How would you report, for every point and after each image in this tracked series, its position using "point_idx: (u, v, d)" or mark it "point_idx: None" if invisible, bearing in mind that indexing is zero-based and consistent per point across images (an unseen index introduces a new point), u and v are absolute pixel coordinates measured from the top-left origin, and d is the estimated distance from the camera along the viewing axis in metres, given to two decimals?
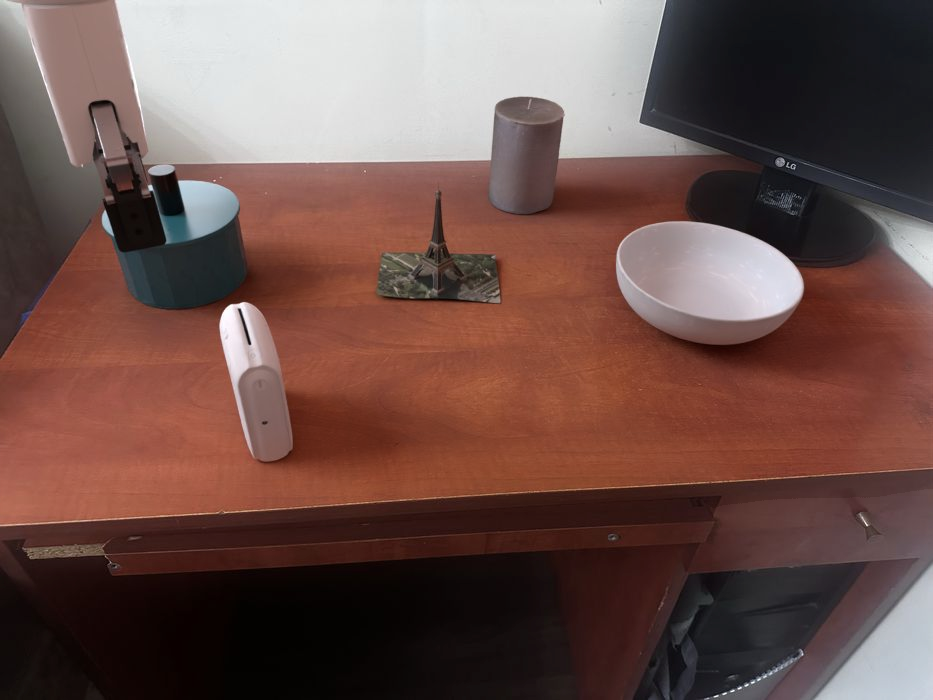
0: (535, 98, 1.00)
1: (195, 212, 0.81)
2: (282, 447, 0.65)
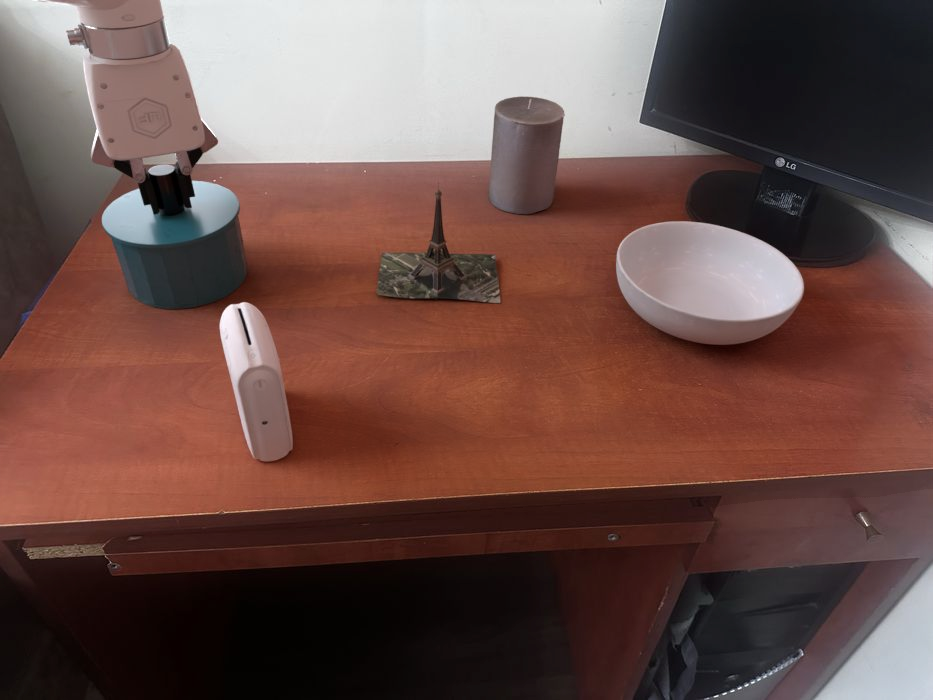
0: (535, 98, 1.00)
1: (195, 212, 0.81)
2: (282, 447, 0.65)
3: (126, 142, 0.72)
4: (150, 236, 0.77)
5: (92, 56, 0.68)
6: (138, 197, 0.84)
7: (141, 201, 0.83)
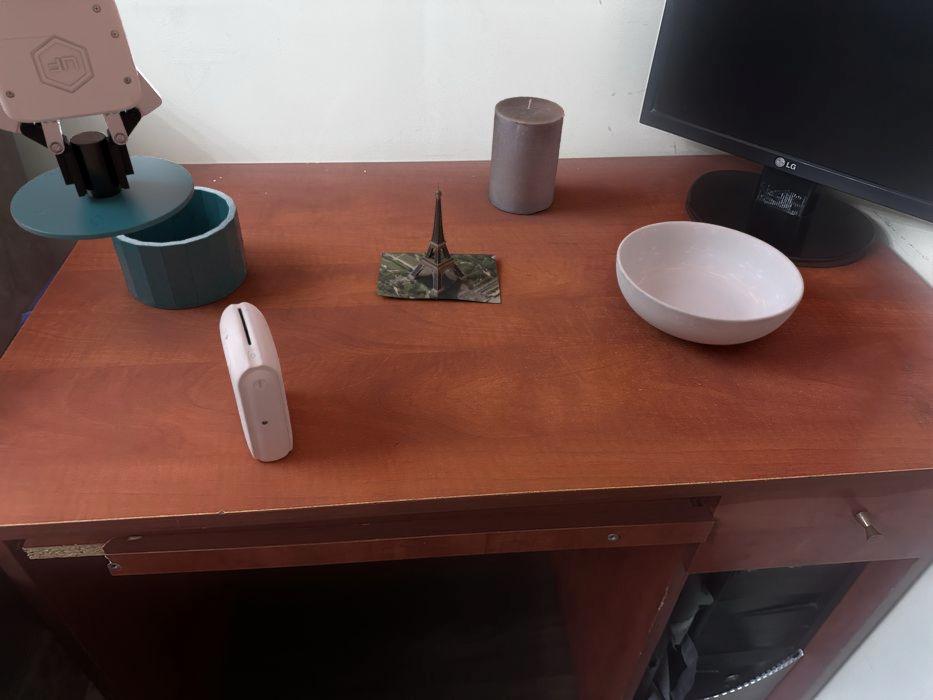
0: (535, 98, 1.00)
1: (135, 194, 0.63)
2: (282, 447, 0.65)
3: (32, 97, 0.54)
4: (70, 224, 0.59)
5: None
6: None
7: None
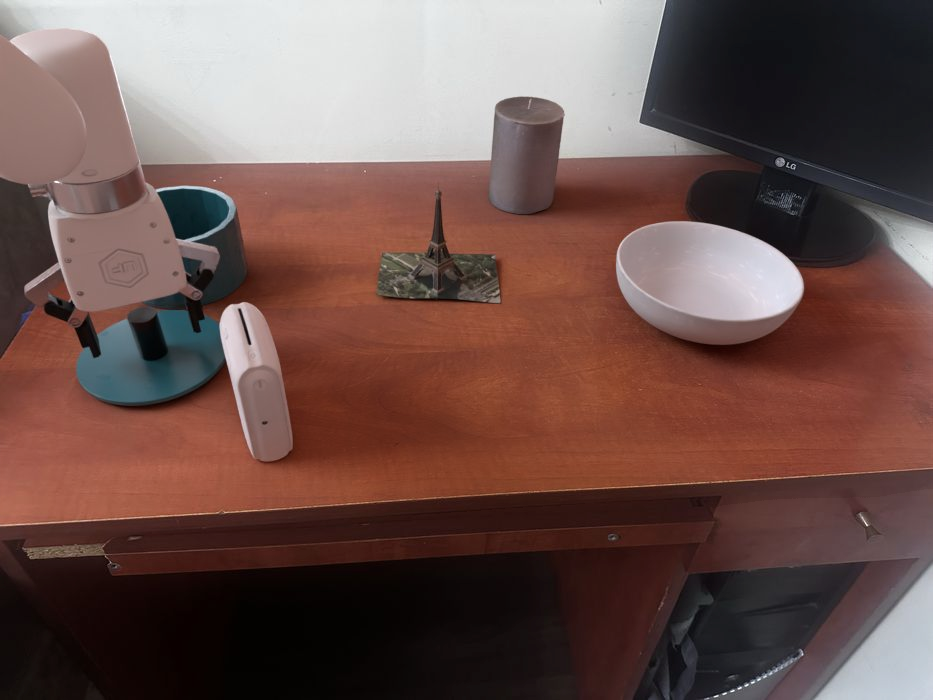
0: (535, 98, 1.00)
1: (179, 355, 0.74)
2: (282, 447, 0.65)
3: (97, 294, 0.65)
4: (128, 390, 0.70)
5: (58, 208, 0.60)
6: (117, 334, 0.76)
7: (120, 340, 0.76)
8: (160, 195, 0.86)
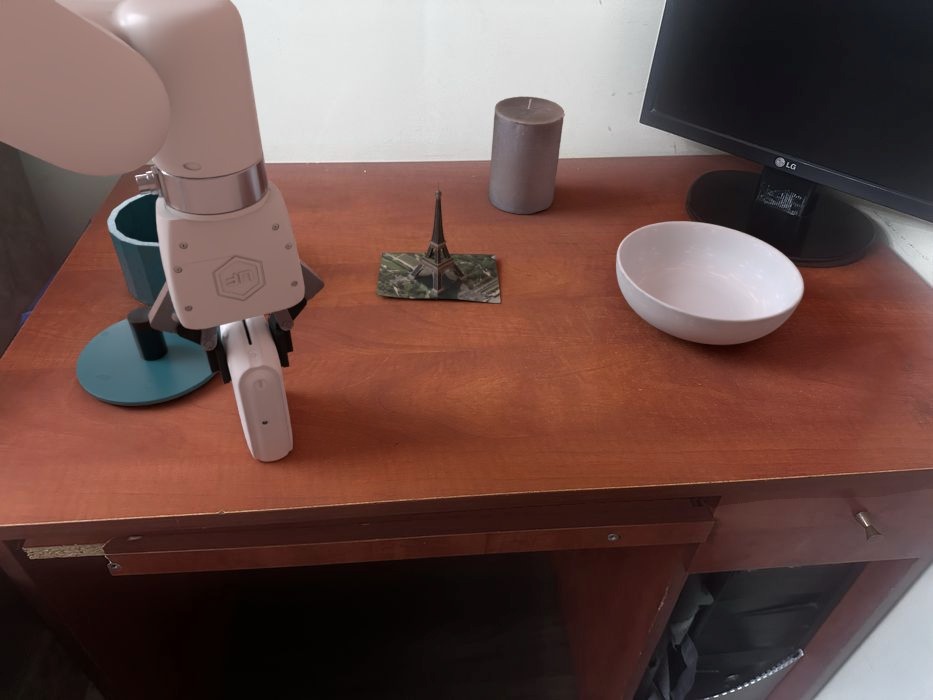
0: (535, 98, 1.00)
1: (179, 355, 0.74)
2: (282, 447, 0.65)
3: (208, 309, 0.55)
4: (128, 390, 0.70)
5: (169, 207, 0.51)
6: (117, 334, 0.76)
7: (120, 340, 0.76)
8: None
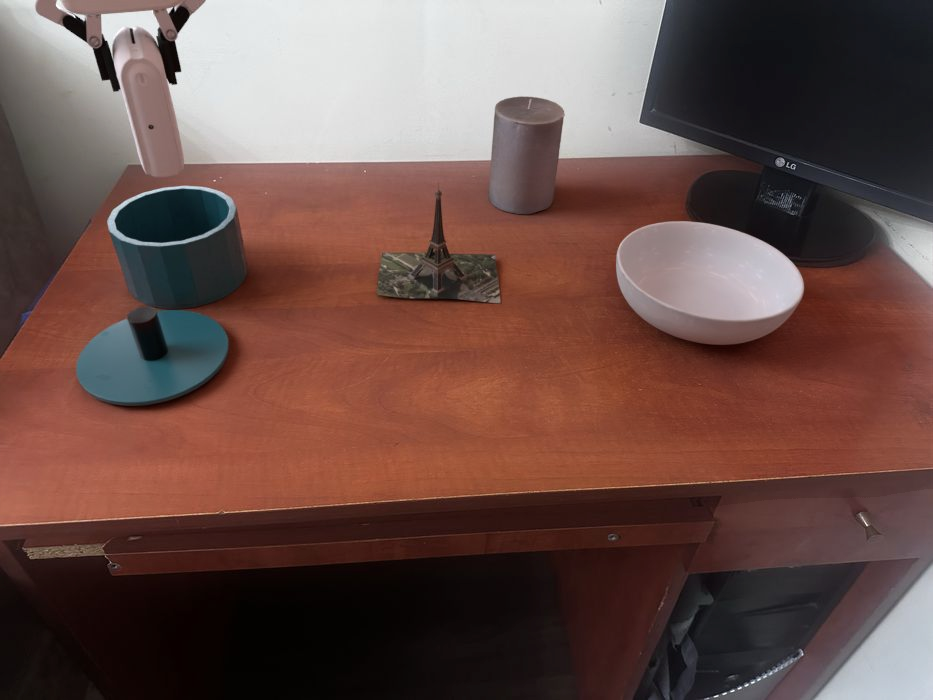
0: (535, 98, 1.00)
1: (179, 355, 0.74)
2: (172, 163, 0.69)
3: None
4: (128, 390, 0.70)
5: None
6: (117, 334, 0.76)
7: (120, 340, 0.76)
8: (160, 195, 0.86)
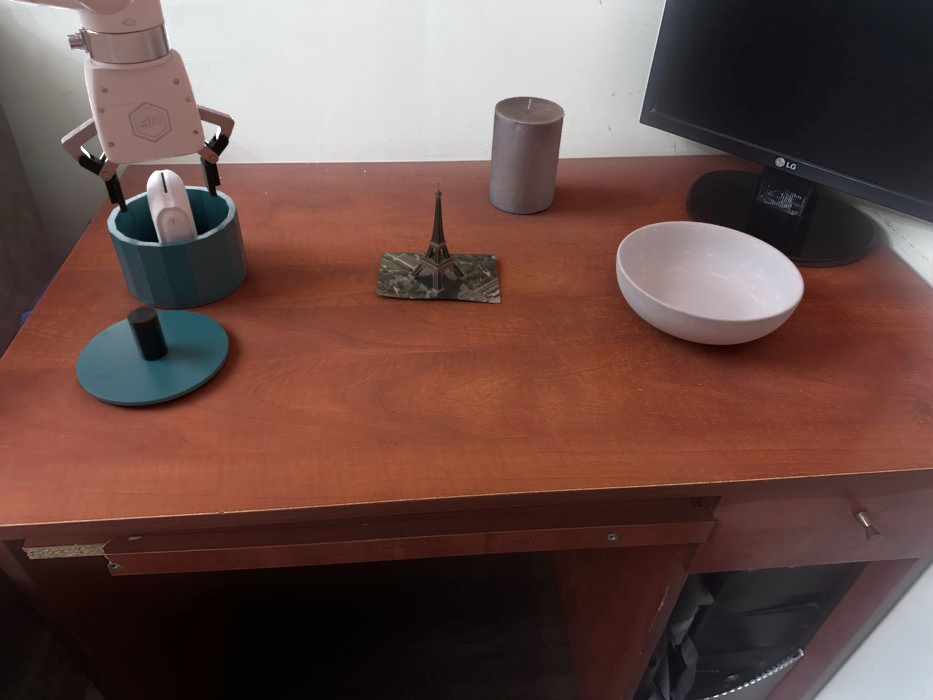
0: (535, 98, 1.00)
1: (179, 355, 0.74)
2: None
3: (126, 146, 0.73)
4: (128, 390, 0.70)
5: (93, 60, 0.68)
6: (117, 334, 0.76)
7: (120, 340, 0.76)
8: None
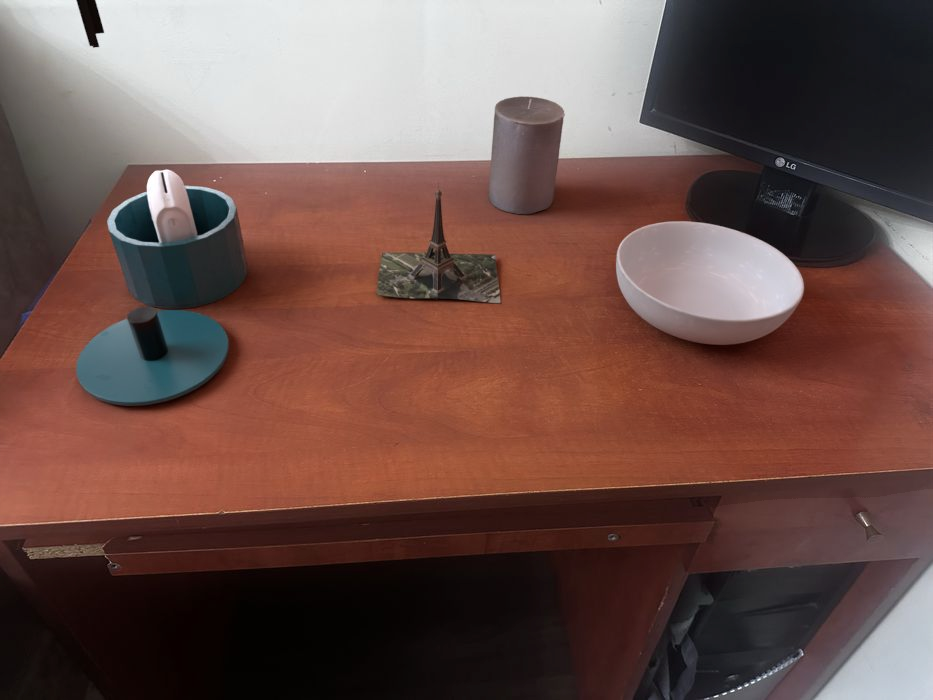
0: (535, 98, 1.00)
1: (179, 355, 0.74)
2: None
3: None
4: (128, 390, 0.70)
5: None
6: (117, 334, 0.76)
7: (120, 340, 0.76)
8: None
